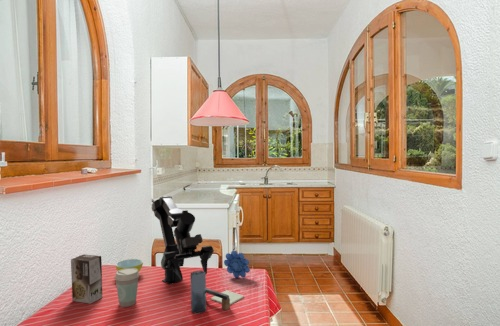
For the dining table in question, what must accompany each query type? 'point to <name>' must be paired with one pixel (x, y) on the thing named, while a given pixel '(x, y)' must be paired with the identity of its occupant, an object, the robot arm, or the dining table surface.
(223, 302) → the posts
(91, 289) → the coffee box
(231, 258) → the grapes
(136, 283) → the coffee cup
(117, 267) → the bowl
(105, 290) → the dining table surface
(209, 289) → the bar
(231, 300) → the mat
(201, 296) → the canister
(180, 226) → the robot arm
